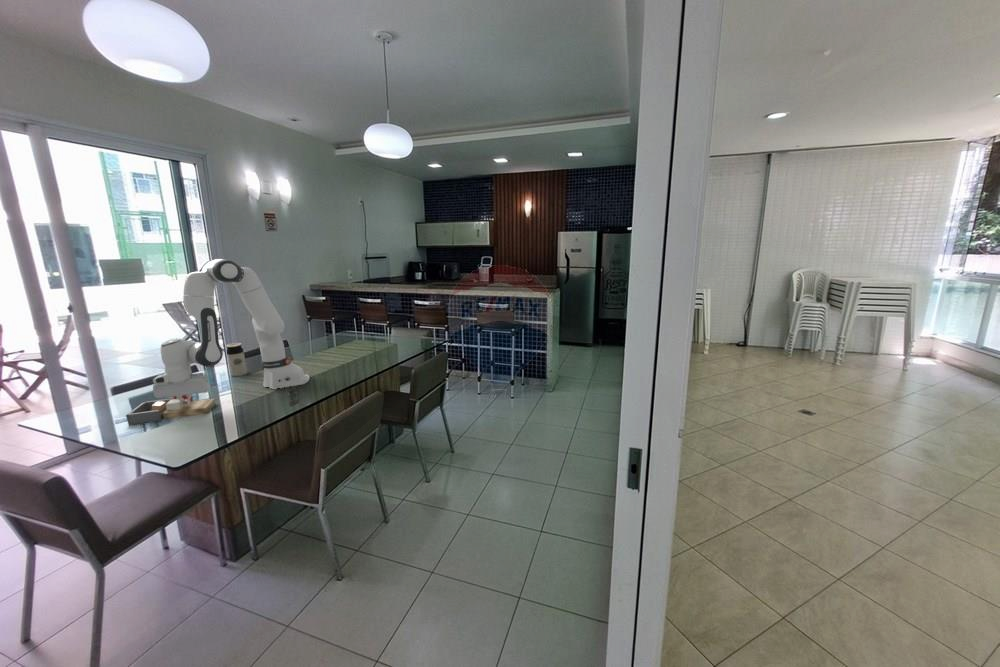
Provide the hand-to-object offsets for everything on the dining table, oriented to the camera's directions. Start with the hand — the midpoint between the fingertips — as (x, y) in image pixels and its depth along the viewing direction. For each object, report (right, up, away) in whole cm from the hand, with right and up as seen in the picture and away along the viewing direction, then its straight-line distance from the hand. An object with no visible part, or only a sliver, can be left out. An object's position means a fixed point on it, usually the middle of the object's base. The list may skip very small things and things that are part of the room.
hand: (186, 403), depth 174 cm
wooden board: (+1, -4, +2) cm, 4 cm away
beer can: (-10, -2, +10) cm, 14 cm away
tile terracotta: (-9, -2, -2) cm, 9 cm away
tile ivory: (-4, -2, -1) cm, 4 cm away
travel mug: (-9, +8, +49) cm, 51 cm away
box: (-13, -5, -3) cm, 14 cm away
